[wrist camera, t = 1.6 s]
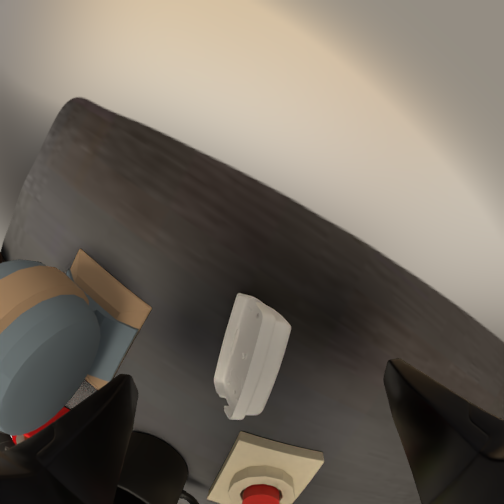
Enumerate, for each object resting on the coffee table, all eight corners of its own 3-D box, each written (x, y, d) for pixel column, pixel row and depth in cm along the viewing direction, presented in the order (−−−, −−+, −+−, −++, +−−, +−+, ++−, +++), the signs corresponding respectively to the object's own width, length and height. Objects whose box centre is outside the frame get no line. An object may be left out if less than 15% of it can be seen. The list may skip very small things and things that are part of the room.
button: (271, 505, 21) (270, 516, 20) (238, 498, 21) (237, 509, 20) (285, 487, 21) (285, 499, 19) (251, 479, 21) (249, 491, 20)
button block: (280, 508, 24) (280, 527, 21) (209, 490, 25) (203, 509, 21) (322, 451, 24) (327, 472, 21) (240, 430, 25) (236, 451, 21)
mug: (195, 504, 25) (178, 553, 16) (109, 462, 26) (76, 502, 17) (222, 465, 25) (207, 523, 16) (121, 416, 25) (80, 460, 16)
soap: (266, 311, 18) (305, 319, 19) (237, 288, 24) (268, 295, 25) (230, 426, 18) (267, 427, 19) (211, 381, 24) (241, 385, 25)
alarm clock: (85, 240, 26) (-68, 230, 8) (157, 299, 25) (3, 361, 7) (42, 343, 26) (-72, 387, 8) (102, 399, 26) (-2, 485, 8)
